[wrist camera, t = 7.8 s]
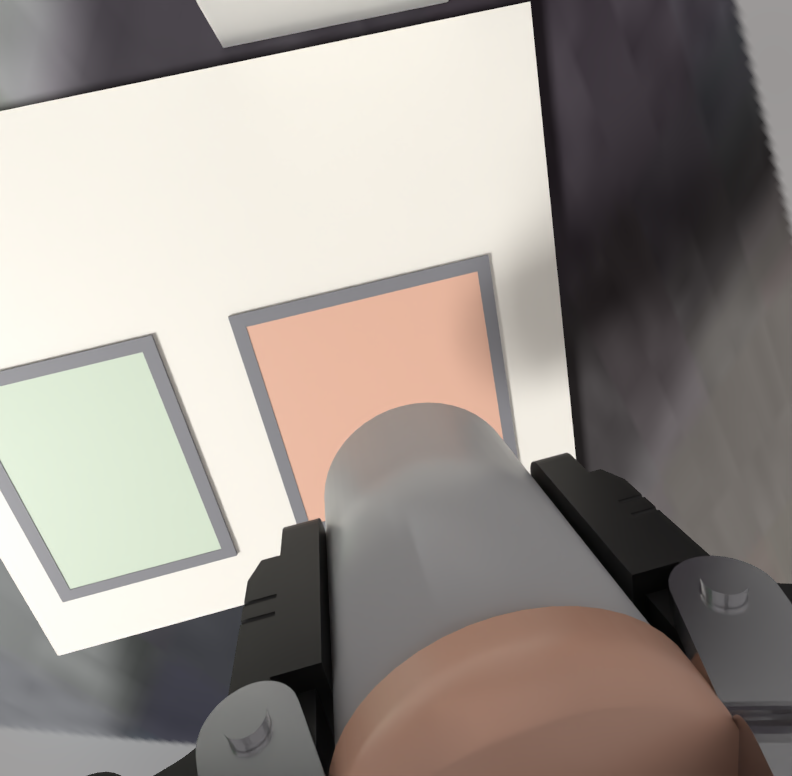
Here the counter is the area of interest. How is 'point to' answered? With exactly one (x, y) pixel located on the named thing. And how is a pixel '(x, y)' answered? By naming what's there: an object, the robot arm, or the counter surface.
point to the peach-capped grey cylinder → (490, 623)
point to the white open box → (291, 16)
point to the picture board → (260, 303)
